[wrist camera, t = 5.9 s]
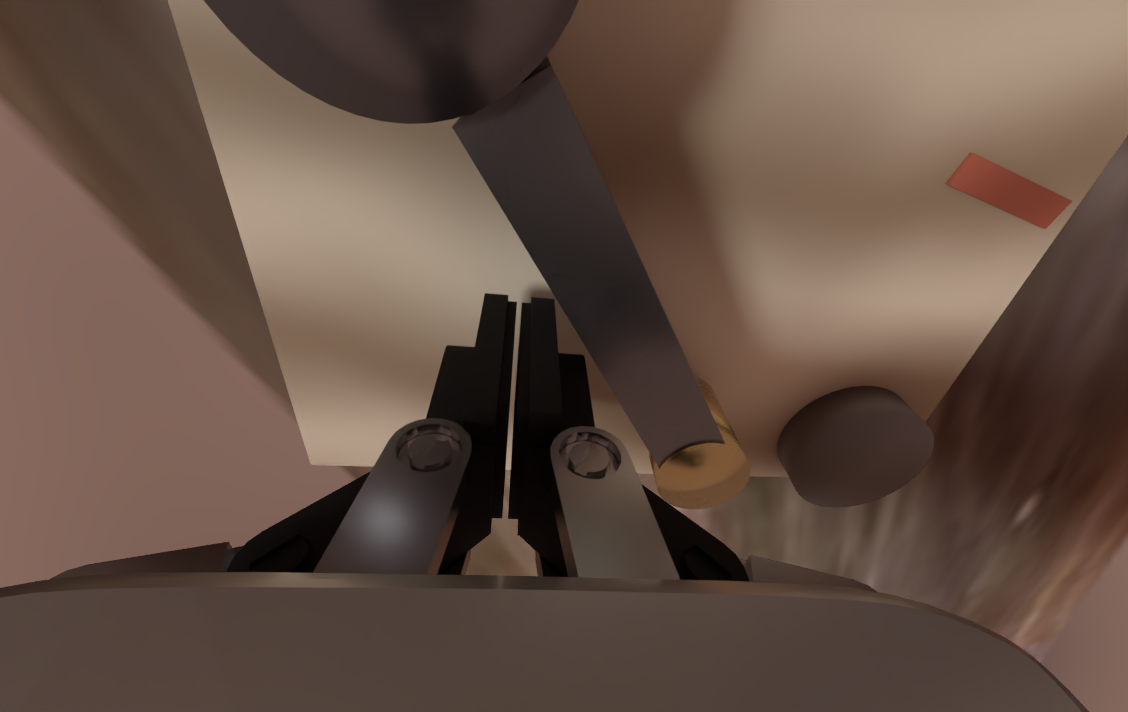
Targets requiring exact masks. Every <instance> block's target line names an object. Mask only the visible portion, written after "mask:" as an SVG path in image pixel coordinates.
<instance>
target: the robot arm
mask: <svg viewBox="0 0 1128 712" xmlns="http://www.w3.org/2000/svg"><path fill="white" fill-rule="evenodd" d="M516 309H517V302H512V301H508V295H501V294H489V293H485V295H484V300H483V306H482V311H481V316H480V322H479V327H478V332H477V338H476V343H475V347H468V346H454V345H447V346H446V348H445V351H444V355H443V358H442V362H441V366H440V369H439V373H438V376H437V380H436V384H435V387H434V391H433V394H432V398H431V402H430V405H429V409H428V412H427V416H426V419H421V420H417V421H414V422H411V423H409V424H406V425H405V426H403V427H402V428H400V429H399V430H397V431H396V432H395V433H394V434H393V436H392V437H391V438H390V439H389V441H388V442H387V444H386V446H385V448H384V449H383V451H382V453H381V455H380V456H379V458H378V460H377V462H376V463H375V465H374V467H373V469H372V470H371V471H370V472H369V473H367V474H365V475H363V476H361V477H360V478H358V479H356V480H354V481H352V482H351V483H349V484H347V485H345V486H343V487H342V488H340V489H338V490H336V491H334V492H333V493H331V494H329V495H327V496H325V497H324V498H322V499H320V500H318V501H316V502H315V503H313V504H311V505H310V506H308V507H306V508H304V509H302V510H300V511H298V512H297V513H295V514H293V515H291V516H290V517H288V518H286V519H284V520H282V521H281V522H279V523H277V524H275V525H273V526H271V527H270V528H268V529H266V530H264V531H262V532H261V533H260V534H258V535H257V536H255V537H254V538H252V539H251V540H249V541H248V542H247V543H246V544H245V545H244V546H241V547H235V548H232V547H231V545H230V543H229V542H224V543H218V544H212V545H205V546H200V547H193V548H187V549H181V550H175V551H168V552H162V553H156V554H150V555H144V556H137V557H131V558H125V559H120V560H113V561H107V562H101V563H94V564H89V565H84V566H81V567H78V568H74V569H70V570H67V571H65V572H63V573H61V574H59V575H57V576H55V577H53V578H51V579H49V580H42V581H35V582H30V583H24V584H19V585H13V586H8V587H2V588H0V712H1089V711H1088V710H1087V709H1086V708H1085V707H1084V706H1083V704H1081V702H1080V701H1079V700H1078V699H1077V698H1076V697H1075V696H1074V695H1073V694H1072V693H1071V692H1070V691H1069V690H1068V689H1067V688H1066V687H1065V686H1064V685H1063V684H1062V683H1061V682H1060V681H1059V680H1058V679H1057V678H1056V677H1055V676H1054V675H1053V674H1052V673H1051V672H1050V671H1049V670H1048V669H1047V668H1046V667H1044V666H1043V665H1042V664H1041V663H1040V662H1039V661H1037V660H1036V659H1035V658H1034V657H1033V656H1032V655H1030V654H1029V653H1028V652H1026V651H1025V650H1023V649H1022V648H1020V647H1019V646H1017V645H1016V644H1015V643H1013V642H1012V641H1010V640H1008V639H1006V638H1005V637H1003V636H1001V635H999V634H997V633H995V632H994V631H992V630H990V629H988V628H986V627H983V626H981V625H979V624H977V623H975V622H973V621H971V620H968V619H965V618H963V617H960V616H957V615H955V614H952V613H950V612H947V611H944V610H942V609H939V608H936V607H934V606H931V605H929V604H925V603H921V602H917V601H914V600H910V599H906V598H902V597H898V596H895V595H890V594H885V593H879V592H877V591H876V590H874V589H873V588H871V587H870V586H868V585H866V584H864V583H861V582H859V581H856V580H854V579H850V578H845V577H841V576H837V575H833V574H829V573H824V572H820V571H816V570H812V569H808V568H804V567H799V566H795V565H791V564H787V563H783V562H778V561H774V560H770V559H766V558H762V557H757V556H753V555H749V557H748V559H747V560H744V559H740V558H738V557H737V556H736V554H735V553H734V552H733V551H731V550H730V549H729V548H728V547H727V546H726V545H725V544H724V543H722V542H721V541H719V540H718V539H717V538H715V537H714V536H712V535H711V534H710V533H708V532H707V531H706V530H704V529H703V528H701V527H700V526H699V525H697V524H696V523H694V522H693V521H692V520H690V519H689V518H688V517H686V516H685V515H683V514H682V513H681V512H679V511H678V510H677V509H675V508H674V507H672V506H671V505H670V504H668V503H667V502H665V501H664V500H663V499H661V498H660V497H659V496H657V495H656V494H654V493H653V492H652V491H650V490H649V489H647V488H646V487H645V486H643V485H642V484H641V482H640V480H639V477H638V475H637V472H636V470H635V467H634V465H633V463H632V460H631V458H630V455H629V453H628V451H627V449H626V448H625V446H624V444H623V443H622V442H621V441H620V440H619V439H618V438H617V437H616V436H614V435H613V434H611V433H609V432H607V431H605V430H603V429H599V428H596V427H595V423H594V416H593V410H592V403H591V396H590V389H589V382H588V376H587V369H586V362H585V357H584V355H581V354H567V353H558V341H557V327H556V313H555V300H554V299H549V298H536V297H531V303H523V302H522V308H521V321H520V334H519V348H518V361H517V374H516V387H515V401H514V419H513V438H512V457H511V476H510V494H509V513H508V519H518V535H520V537H522V538H523V539H524V540H525V541H526V542H527V543H528V544H529V545H530V546H531V547H532V548H533V549H534V550H535V562H536V568H537V574H538V577H536V576H484V575H466V572H467V568H468V565H469V561H470V555H471V548H473V547H474V546H475V545H476V544H478V543H479V542H480V541H482V540H483V539H484V538H485V537H487V536H488V535H489V534H490V533H491V522H492V518H502V511H503V497H504V482H505V468H506V453H507V439H508V425H509V410H510V396H511V381H512V367H513V352H514V338H515V323H516Z"/></svg>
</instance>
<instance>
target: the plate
mask: <svg viewBox="0 0 1128 712" xmlns="http://www.w3.org/2000/svg"><path fill="white" fill-rule="evenodd" d="M168 3H169V6H170V9H171V12H172V16H173V19H174V22H175V25H176V29H177V32H178V35H179V38H180V42H181V45H182V48H183V51H184V55H185V58H186V61H187V64H188V68H189V71H190V74H191V77H192V81H193V84H194V87H195V90H196V94H197V97H198V100H199V103H200V107H201V110H202V113H203V116H204V119H205V123H206V126H207V129H208V132H209V136H210V139H211V142H212V145H213V149H214V152H215V155H216V158H217V162H218V165H219V168H220V171H221V175H222V178H223V181H224V184H225V188H226V191H227V194H228V197H229V201H230V204H231V207H232V210H233V214H234V217H235V220H236V223H237V227H238V230H239V233H240V236H241V240H242V243H243V246H244V249H245V253H246V256H247V259H248V262H249V266H250V269H251V272H252V275H253V279H254V282H255V285H256V288H257V292H258V295H259V298H260V301H261V305H262V308H263V311H264V314H265V318H266V321H267V324H268V327H269V331H270V334H271V337H272V340H273V344H274V347H275V350H276V353H277V357H278V360H279V363H280V366H281V370H282V373H283V376H284V379H285V383H286V386H287V389H288V392H289V396H290V399H291V402H292V405H293V409H294V412H295V415H296V418H297V422H298V425H299V428H300V431H301V435H302V438H303V441H304V444H305V447H306V451H307V454H308V457H309V460H310V464H311V465H337V466H374V465H375V463H376V462H377V460H378V458H379V456H380V455H381V453H382V451H383V449H384V448H385V446H386V444H387V442H388V441H389V439H390V438H391V437H392V436H393V434H394V433H395V432H396V431H397V430H399V429H400V428H402V427H403V426H405V425H406V424H409V423H411V422H414V421H417V420H421V419H426V416H427V412H428V409H429V405H430V402H431V398H432V394H433V391H434V387H435V384H436V380H437V376H438V373H439V369H440V366H441V362H442V358H443V355H444V351H445V348H446V346H447V345H454V346H468V347H475V343H476V338H477V332H478V327H479V322H480V316H481V311H482V306H483V300H484V295H485V293H489V294H501V295H508V301H512V302H517V309H516V323H515V338H514V352H513V367H512V381H511V396H510V410H509V425H508V439H507V453H506V468H505V470H511V457H512V438H513V419H514V401H515V387H516V374H517V361H518V348H519V334H520V321H521V308H522V302H523V303H531V297H536V298H549V299H554V300H555V313H556V327H557V341H558V353H567V354H581V355H584V357H585V362H586V369H587V376H588V382H589V389H590V396H591V403H592V410H593V416H594V423H595V427H596V428H599V429H603V430H605V431H607V432H609V433H611V434H613V435H614V436H616V437H617V438H618V439H619V440H620V441H621V442H622V443H623V444H624V446H625V448H626V449H627V451H628V453H629V455H630V458H631V460H632V463H633V465H634V467H635V470H636V472H637V473H643V474H653V470H652V466H651V462H650V458H649V454H648V450H647V448H646V446H645V444H644V443H643V441H642V439H641V438H640V436H639V434H638V433H637V431H636V430H635V428H634V426H633V425H632V423H631V421H630V420H629V418H628V416H627V415H626V413H625V411H624V410H623V408H622V406H621V405H620V403H619V402H618V400H617V398H616V397H615V395H614V393H613V392H612V390H611V388H610V387H609V385H608V383H607V382H606V380H605V378H604V377H603V375H602V373H601V372H600V370H599V369H598V367H597V365H596V364H595V362H594V360H593V359H592V357H591V355H590V354H589V352H588V350H587V349H586V347H585V345H584V344H583V342H582V341H581V339H580V337H579V336H578V334H577V332H576V331H575V329H574V327H573V326H572V324H571V322H570V321H569V319H568V317H567V316H566V314H565V312H564V311H563V309H562V308H561V306H560V304H559V303H558V301H557V299H556V298H555V296H554V294H553V293H552V291H551V289H550V288H549V286H548V284H547V283H546V281H545V280H544V278H543V276H542V275H541V273H540V271H539V270H538V268H537V266H536V265H535V263H534V261H533V260H532V258H531V256H530V255H529V253H528V251H527V250H526V248H525V247H524V245H523V243H522V242H521V240H520V238H519V237H518V235H517V233H516V232H515V230H514V228H513V227H512V225H511V223H510V222H509V220H508V219H507V217H506V215H505V214H504V212H503V210H502V209H501V207H500V205H499V204H498V202H497V200H496V199H495V197H494V195H493V194H492V192H491V190H490V189H489V187H488V186H487V184H486V182H485V181H484V179H483V177H482V176H481V174H480V172H479V171H478V169H477V167H476V166H475V164H474V162H473V161H472V159H471V158H470V156H469V154H468V153H467V151H466V149H465V148H464V146H463V144H462V143H461V141H460V139H459V138H458V136H457V134H456V133H455V131H454V130H453V128H452V126H453V125H454V124H455V123H456V121H457V120H458V119H459V118H460V117H458V118H455V119H450V120H445V121H440V122H434V123H419V124H402V123H393V122H384V121H378V120H374V119H370V118H366V117H362V116H358V115H355V114H352V113H349V112H347V111H344V110H341V109H339V108H336V107H334V106H331V105H329V104H327V103H325V102H323V101H321V100H319V99H317V98H315V97H313V96H311V95H310V94H308V93H306V92H304V91H302V90H301V89H299V88H298V87H296V86H295V85H293V84H292V83H290V82H289V81H287V80H286V79H284V78H283V77H281V76H280V75H278V74H277V73H276V72H275V71H273V70H272V69H271V68H270V67H268V66H267V65H266V64H265V63H264V62H262V61H261V60H260V59H259V58H257V57H256V56H255V55H254V54H253V53H252V52H251V51H250V50H249V49H248V48H247V47H245V46H244V45H243V44H242V43H241V42H240V41H239V40H238V39H237V38H236V37H235V36H234V35H233V34H232V33H231V32H230V31H229V30H228V29H227V28H226V26H225V25H224V24H223V23H222V22H221V21H220V19H219V18H218V17H217V16H216V15H215V13H214V12H213V11H212V10H211V9H210V8H209V6H208V5H207V4H206V3H205V2H204V0H168ZM547 56H548V58H549V60H550V62H551V65H552V67H553V69H554V71H555V73H556V75H557V78H558V80H559V82H560V84H561V86H562V88H563V91H564V93H565V95H566V97H567V99H568V101H569V104H570V106H571V108H572V110H573V112H574V115H575V117H576V119H577V121H578V123H579V125H580V128H581V130H582V132H583V134H584V136H585V138H586V141H587V143H588V145H589V147H590V149H591V151H592V154H593V156H594V158H595V160H596V162H597V164H598V167H599V169H600V171H601V173H602V175H603V178H604V180H605V182H606V184H607V186H608V188H609V191H610V193H611V195H612V197H613V199H614V201H615V204H616V206H617V208H618V210H619V212H620V214H621V217H622V219H623V221H624V223H625V225H626V228H627V230H628V232H629V234H630V236H631V238H632V241H633V243H634V245H635V247H636V249H637V251H638V254H639V256H640V258H641V260H642V262H643V264H644V267H645V269H646V271H647V273H648V275H649V278H650V280H651V282H652V284H653V286H654V288H655V291H656V293H657V295H658V297H659V299H660V301H661V304H662V306H663V308H664V310H665V312H666V314H667V317H668V319H669V321H670V323H671V325H672V328H673V330H674V332H675V334H676V336H677V338H678V341H679V343H680V345H681V347H682V349H683V351H684V354H685V356H686V358H687V360H688V362H689V364H690V367H691V369H692V371H693V373H694V375H695V377H697V378H700V379H702V380H704V381H705V382H707V383H708V384H709V385H710V386H711V387H712V388H713V390H714V392H715V394H716V396H717V398H718V400H719V402H720V404H721V406H722V408H723V411H724V413H725V415H726V417H727V419H728V421H729V423H730V425H731V427H732V429H733V431H734V433H735V435H736V437H737V439H738V442H739V444H740V446H741V448H742V450H743V452H744V454H745V456H746V458H747V460H748V462H749V465H750V476H759V477H789V478H790V480H791V482H792V484H793V485H794V487H795V489H796V491H797V492H798V493H799V495H800V496H801V497H802V498H804V499H805V500H807V501H808V502H811V503H813V504H816V505H819V506H825V507H849V506H855V505H860V504H864V503H868V502H871V501H874V500H877V499H879V498H882V497H884V496H886V495H888V494H890V493H892V492H894V491H896V490H897V489H899V488H901V487H902V486H904V485H905V484H907V483H908V482H909V481H911V480H912V479H913V478H914V477H915V476H916V475H917V474H918V473H919V472H920V471H921V470H922V469H923V468H924V467H925V465H926V464H927V462H928V461H929V459H930V457H931V455H932V452H933V449H934V442H935V441H934V435H933V432H932V430H931V429H930V427H929V426H928V425H927V424H926V423H925V422H926V421H927V419H928V418H929V416H930V415H931V414H932V412H933V411H934V409H935V408H936V407H937V405H938V404H939V402H940V401H941V399H942V398H943V397H944V395H945V394H946V392H947V391H948V390H949V388H950V387H951V385H952V384H953V382H954V381H955V380H956V378H957V377H958V375H959V374H960V372H961V371H962V370H963V368H964V367H965V365H966V364H967V363H968V361H969V360H970V358H971V357H972V355H973V354H974V353H975V351H976V350H977V348H978V347H979V346H980V344H981V343H982V341H983V340H984V338H985V337H986V336H987V334H988V333H989V331H990V330H991V328H992V327H993V326H994V324H995V323H996V321H997V320H998V319H999V317H1000V316H1001V314H1002V313H1003V311H1004V310H1005V309H1006V307H1007V306H1008V304H1009V303H1010V302H1011V300H1012V299H1013V297H1014V296H1015V294H1016V293H1017V292H1018V290H1019V289H1020V287H1021V286H1022V284H1023V283H1024V282H1025V280H1026V279H1027V277H1028V276H1029V275H1030V273H1031V272H1032V270H1033V269H1034V267H1035V266H1036V265H1037V263H1038V262H1039V260H1040V259H1041V258H1042V256H1043V255H1044V253H1045V252H1046V250H1047V249H1048V248H1049V246H1050V245H1051V243H1052V242H1053V240H1054V239H1055V238H1056V236H1057V235H1058V233H1059V232H1060V231H1061V229H1062V228H1063V226H1064V225H1065V223H1066V222H1067V221H1068V219H1069V218H1070V216H1071V215H1072V213H1073V212H1074V211H1075V209H1076V208H1077V206H1078V205H1079V204H1080V202H1081V201H1082V199H1083V198H1084V196H1085V195H1086V194H1087V192H1088V191H1089V189H1090V188H1091V187H1092V185H1093V184H1094V182H1095V181H1096V179H1097V178H1098V177H1099V175H1100V174H1101V172H1102V171H1103V169H1104V168H1105V167H1106V165H1107V164H1108V162H1109V161H1110V160H1111V158H1112V157H1113V155H1114V154H1115V152H1116V151H1117V150H1118V148H1119V147H1120V145H1121V144H1122V143H1123V141H1124V140H1125V138H1126V137H1127V135H1128V0H579V1H578V3H577V6H576V8H575V10H574V12H573V14H572V17H571V19H570V21H569V22H568V24H567V26H566V27H565V29H564V31H563V32H562V34H561V36H560V37H559V39H558V41H557V42H556V44H555V45H554V47H553V48H552V49H551V50H550V52H549V53H548V54H547ZM547 56H546V57H547ZM546 57H545V58H546Z"/></svg>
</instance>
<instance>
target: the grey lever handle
mask: <svg viewBox="0 0 1128 712" xmlns="http://www.w3.org/2000/svg"><path fill="white" fill-rule="evenodd" d="M578 1H579V0H204V2H205V3H206V4H207V5H208V6H209V8H210V9H211V10H212V11H213V12H214V13H215V15H216V16H217V17H218V18H219V19H220V21H221V22H222V23H223V24H224V25H225V26H226V28H227V29H228V30H229V31H230V32H231V33H232V34H233V35H234V36H235V37H236V38H237V39H238V40H239V41H240V42H241V43H242V44H243V45H244V46H245V47H247V48H248V49H249V50H250V51H251V52H252V53H253V54H254V55H255V56H256V57H257V58H259V59H260V60H261V61H262V62H264V63H265V64H266V65H267V66H268V67H270V68H271V69H272V70H273V71H275V72H276V73H277V74H278V75H280V76H281V77H283V78H284V79H286V80H287V81H289V82H290V83H292V84H293V85H295V86H296V87H298V88H299V89H301V90H302V91H304V92H306V93H308V94H310V95H311V96H313V97H315V98H317V99H319V100H321V101H323V102H325V103H327V104H329V105H331V106H334V107H336V108H339V109H341V110H344V111H347V112H349V113H352V114H355V115H358V116H362V117H366V118H370V119H374V120H378V121H384V122H393V123H402V124H419V123H434V122H440V121H445V120H450V119H455V118H458V117H460V118H459V119H458V120H457V121H456V123H455V124H454V125H453V126H452V128H453V130H454V131H455V133H456V134H457V136H458V138H459V139H460V141H461V143H462V144H463V146H464V148H465V149H466V151H467V153H468V154H469V156H470V158H471V159H472V161H473V162H474V164H475V166H476V167H477V169H478V171H479V172H480V174H481V176H482V177H483V179H484V181H485V182H486V184H487V186H488V187H489V189H490V190H491V192H492V194H493V195H494V197H495V199H496V200H497V202H498V204H499V205H500V207H501V209H502V210H503V212H504V214H505V215H506V217H507V219H508V220H509V222H510V223H511V225H512V227H513V228H514V230H515V232H516V233H517V235H518V237H519V238H520V240H521V242H522V243H523V245H524V247H525V248H526V250H527V251H528V253H529V255H530V256H531V258H532V260H533V261H534V263H535V265H536V266H537V268H538V270H539V271H540V273H541V275H542V276H543V278H544V280H545V281H546V283H547V284H548V286H549V288H550V289H551V291H552V293H553V294H554V296H555V298H556V299H557V301H558V303H559V304H560V306H561V308H562V309H563V311H564V312H565V314H566V316H567V317H568V319H569V321H570V322H571V324H572V326H573V327H574V329H575V331H576V332H577V334H578V336H579V337H580V339H581V341H582V342H583V344H584V345H585V347H586V349H587V350H588V352H589V354H590V355H591V357H592V359H593V360H594V362H595V364H596V365H597V367H598V369H599V370H600V372H601V373H602V375H603V377H604V378H605V380H606V382H607V383H608V385H609V387H610V388H611V390H612V392H613V393H614V395H615V397H616V398H617V400H618V402H619V403H620V405H621V406H622V408H623V410H624V411H625V413H626V415H627V416H628V418H629V420H630V421H631V423H632V425H633V426H634V428H635V430H636V431H637V433H638V434H639V436H640V438H641V439H642V441H643V443H644V444H645V446H646V448H647V450H648V454H649V458H650V462H651V466H652V470H653V474H654V477H655V481H656V485H657V489H658V492H659V494H660V496H661V497H662V498H663V499H664V500H665V501H666V502H668V503H669V504H671V505H673V506H676V507H680V508H685V509H702V508H708V507H712V506H716V505H719V504H721V503H724V502H726V501H728V500H729V499H731V498H733V497H734V496H735V495H737V494H738V493H739V492H740V491H741V490H742V489H743V488H744V487H745V485H746V484H747V482H748V480H749V477H750V465H749V462H748V460H747V458H746V456H745V454H744V452H743V450H742V448H741V446H740V444H739V442H738V439H737V437H736V435H735V433H734V431H733V429H732V427H731V425H730V423H729V421H728V419H727V417H726V415H725V413H724V411H723V408H722V406H721V404H720V402H719V400H718V398H717V396H716V394H715V392H714V390H713V388H712V387H711V386H710V385H709V384H708V383H707V382H705V381H704V380H702V379H700V378H697V377H695V375H694V373H693V371H692V369H691V367H690V364H689V362H688V360H687V358H686V356H685V354H684V351H683V349H682V347H681V345H680V343H679V341H678V338H677V336H676V334H675V332H674V330H673V328H672V325H671V323H670V321H669V319H668V317H667V314H666V312H665V310H664V308H663V306H662V304H661V301H660V299H659V297H658V295H657V293H656V291H655V288H654V286H653V284H652V282H651V280H650V278H649V275H648V273H647V271H646V269H645V267H644V264H643V262H642V260H641V258H640V256H639V254H638V251H637V249H636V247H635V245H634V243H633V241H632V238H631V236H630V234H629V232H628V230H627V228H626V225H625V223H624V221H623V219H622V217H621V214H620V212H619V210H618V208H617V206H616V204H615V201H614V199H613V197H612V195H611V193H610V191H609V188H608V186H607V184H606V182H605V180H604V178H603V175H602V173H601V171H600V169H599V167H598V164H597V162H596V160H595V158H594V156H593V154H592V151H591V149H590V147H589V145H588V143H587V141H586V138H585V136H584V134H583V132H582V130H581V128H580V125H579V123H578V121H577V119H576V117H575V115H574V112H573V110H572V108H571V106H570V104H569V101H568V99H567V97H566V95H565V93H564V91H563V88H562V86H561V84H560V82H559V80H558V78H557V75H556V73H555V71H554V69H553V67H552V65H551V62H550V60H549V58H548V56H547V54H548V53H549V52H550V50H551V49H552V48H553V47H554V45H555V44H556V42H557V41H558V39H559V37H560V36H561V34H562V32H563V31H564V29H565V27H566V26H567V24H568V22H569V21H570V19H571V17H572V14H573V12H574V10H575V8H576V6H577V3H578ZM546 56H547V57H546ZM545 57H546V58H545Z"/></svg>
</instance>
